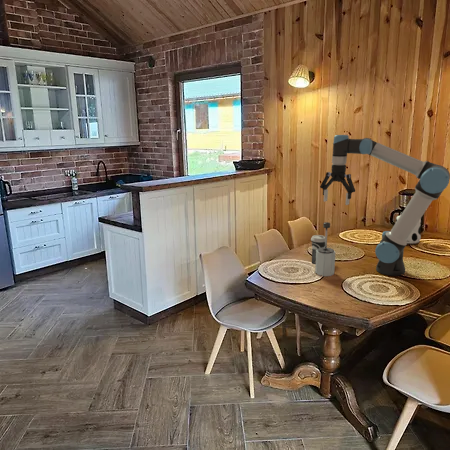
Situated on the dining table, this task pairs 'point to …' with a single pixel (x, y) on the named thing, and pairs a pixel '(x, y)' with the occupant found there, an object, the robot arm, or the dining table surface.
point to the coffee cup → (318, 242)
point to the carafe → (324, 261)
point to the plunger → (326, 225)
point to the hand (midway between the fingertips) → (336, 202)
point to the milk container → (414, 233)
